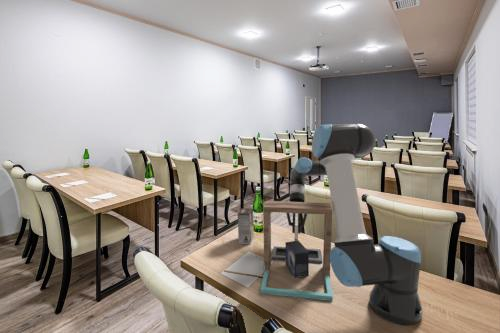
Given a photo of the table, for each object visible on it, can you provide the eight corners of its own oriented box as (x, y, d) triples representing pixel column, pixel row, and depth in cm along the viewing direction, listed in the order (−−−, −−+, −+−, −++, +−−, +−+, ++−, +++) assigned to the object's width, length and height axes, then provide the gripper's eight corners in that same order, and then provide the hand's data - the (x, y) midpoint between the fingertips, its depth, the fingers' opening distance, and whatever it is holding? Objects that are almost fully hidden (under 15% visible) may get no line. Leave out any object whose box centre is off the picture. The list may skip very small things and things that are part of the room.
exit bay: (332, 300, 92) (332, 296, 91) (260, 293, 96) (260, 289, 96) (328, 278, 104) (328, 275, 104) (265, 273, 109) (265, 269, 108)
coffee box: (242, 236, 144) (241, 207, 141) (254, 237, 143) (253, 208, 140) (238, 243, 135) (237, 213, 132) (250, 244, 134) (250, 214, 131)
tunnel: (329, 278, 105) (332, 209, 100) (264, 272, 109) (263, 206, 105) (327, 267, 112) (330, 203, 108) (266, 262, 117) (265, 200, 112)
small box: (284, 264, 115) (284, 241, 113) (298, 262, 117) (298, 239, 115) (294, 278, 105) (294, 253, 103) (309, 275, 107) (309, 251, 105)
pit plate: (322, 263, 116) (322, 260, 115) (271, 259, 120) (271, 256, 119) (320, 251, 125) (320, 249, 125) (273, 248, 129) (273, 246, 129)
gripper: (309, 199, 139) (310, 243, 125) (284, 198, 141) (282, 241, 128) (310, 191, 132) (310, 237, 119) (284, 190, 135) (281, 235, 122)
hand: (296, 239), depth 123 cm, fingers closed
